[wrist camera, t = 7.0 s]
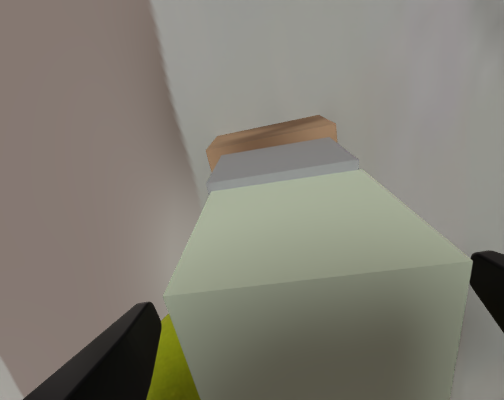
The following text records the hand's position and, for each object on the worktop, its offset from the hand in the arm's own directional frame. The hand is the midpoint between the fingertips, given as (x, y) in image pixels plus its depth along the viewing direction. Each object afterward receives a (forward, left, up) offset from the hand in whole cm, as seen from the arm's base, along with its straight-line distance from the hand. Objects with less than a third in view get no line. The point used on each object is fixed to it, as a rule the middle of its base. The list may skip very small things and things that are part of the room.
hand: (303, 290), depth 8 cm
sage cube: (0, 0, -2) cm, 2 cm away
